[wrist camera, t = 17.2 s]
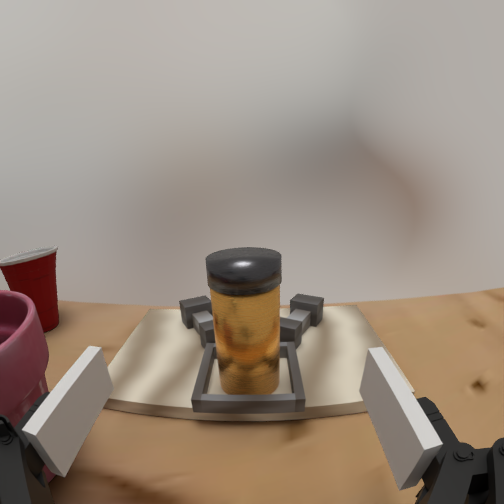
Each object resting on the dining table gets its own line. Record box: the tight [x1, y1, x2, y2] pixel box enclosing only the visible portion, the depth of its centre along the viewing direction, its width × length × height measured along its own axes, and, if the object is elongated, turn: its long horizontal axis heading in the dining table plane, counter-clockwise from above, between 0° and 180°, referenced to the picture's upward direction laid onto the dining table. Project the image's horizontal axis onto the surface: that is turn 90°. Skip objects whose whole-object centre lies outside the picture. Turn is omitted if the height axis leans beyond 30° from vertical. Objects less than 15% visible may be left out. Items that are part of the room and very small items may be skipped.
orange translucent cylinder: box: [206, 247, 282, 395], centre depth 25 cm, size 6×6×12 cm
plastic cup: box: [0, 246, 59, 332], centre depth 37 cm, size 11×11×12 cm
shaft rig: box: [103, 294, 415, 421], centre depth 32 cm, size 30×20×4 cm
